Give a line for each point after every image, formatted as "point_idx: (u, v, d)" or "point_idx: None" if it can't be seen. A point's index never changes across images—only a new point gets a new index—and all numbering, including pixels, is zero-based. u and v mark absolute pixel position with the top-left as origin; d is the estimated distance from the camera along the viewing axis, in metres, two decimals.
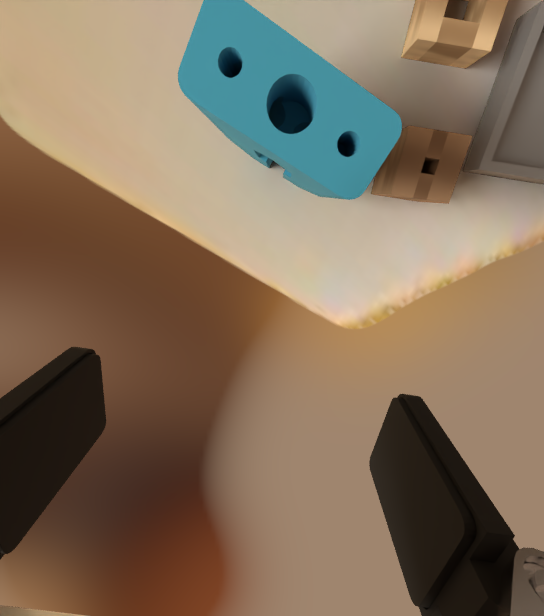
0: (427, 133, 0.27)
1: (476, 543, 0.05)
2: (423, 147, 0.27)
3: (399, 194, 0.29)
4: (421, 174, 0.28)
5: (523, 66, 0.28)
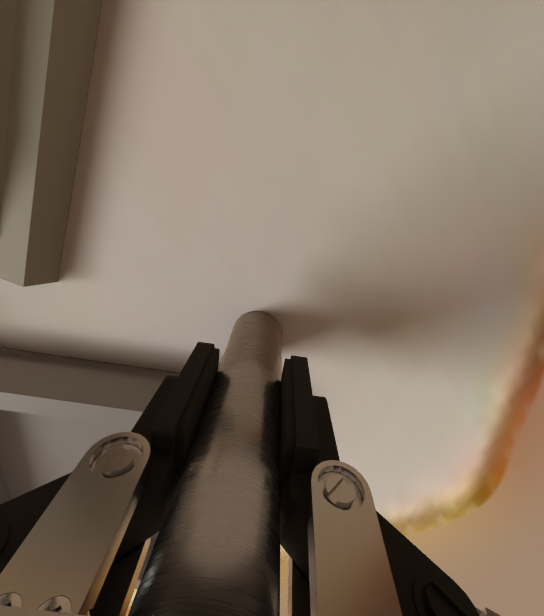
0: None
1: (295, 458, 0.06)
2: None
3: None
4: None
5: None
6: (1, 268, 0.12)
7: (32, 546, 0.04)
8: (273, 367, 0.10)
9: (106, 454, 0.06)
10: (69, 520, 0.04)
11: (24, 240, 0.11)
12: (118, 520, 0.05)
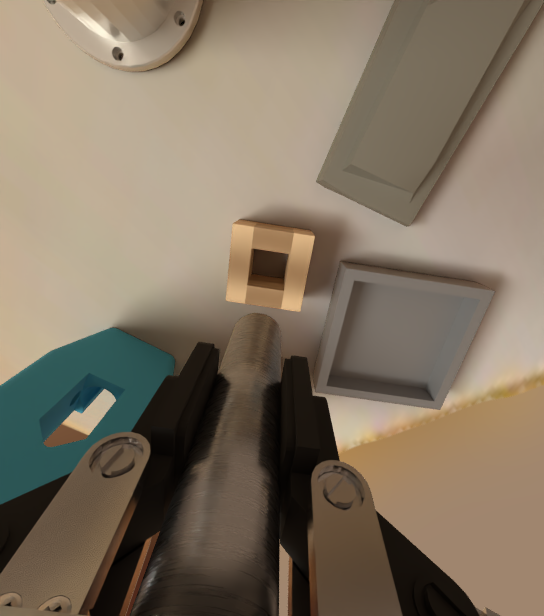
0: None
1: (295, 458, 0.06)
2: None
3: None
4: None
5: (340, 316, 0.28)
6: (404, 216, 0.26)
7: (32, 546, 0.04)
8: (273, 370, 0.10)
9: (106, 454, 0.06)
10: (68, 519, 0.04)
11: (421, 203, 0.25)
12: (118, 520, 0.05)
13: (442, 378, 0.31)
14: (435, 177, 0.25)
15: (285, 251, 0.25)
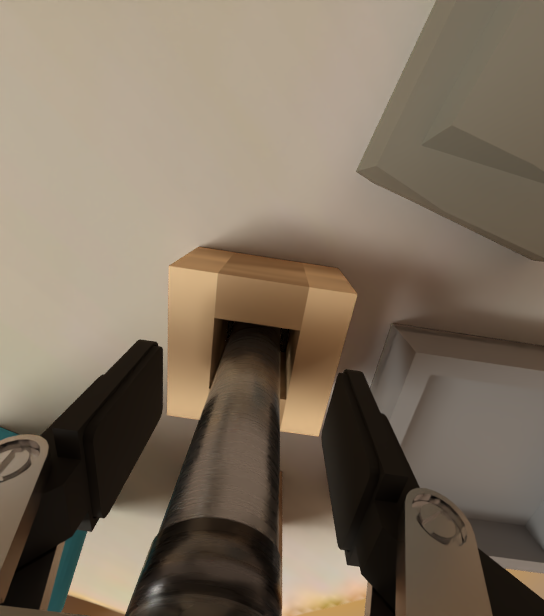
0: None
1: (379, 485, 0.06)
2: None
3: None
4: None
5: None
6: None
7: None
8: (273, 347, 0.11)
9: None
10: None
11: None
12: None
13: None
14: None
15: (290, 324, 0.11)
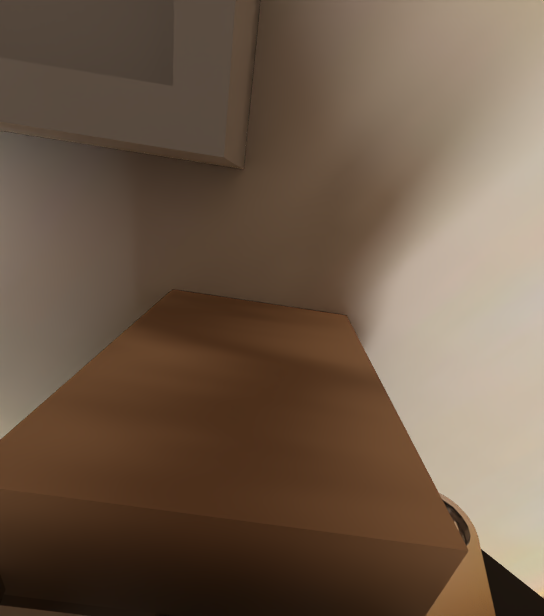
0: None
1: None
2: None
3: None
4: None
5: None
6: None
7: None
8: None
9: None
10: None
11: None
12: None
13: None
14: None
15: None
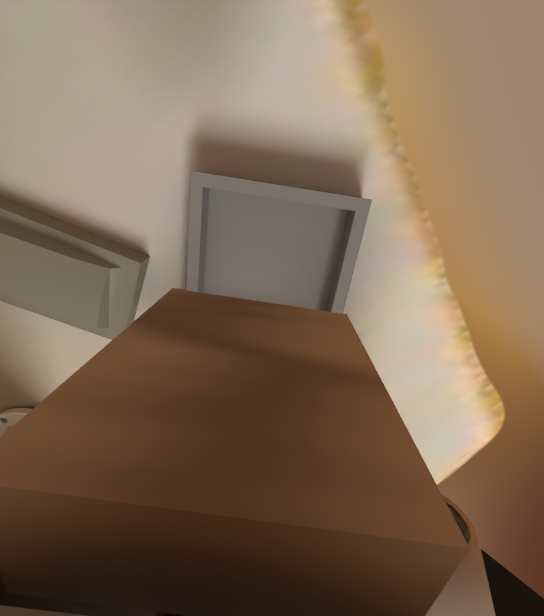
0: None
1: None
2: None
3: None
4: None
5: None
6: (133, 270, 0.26)
7: None
8: None
9: None
10: None
11: (118, 256, 0.26)
12: None
13: (320, 205, 0.23)
14: (94, 247, 0.26)
15: None
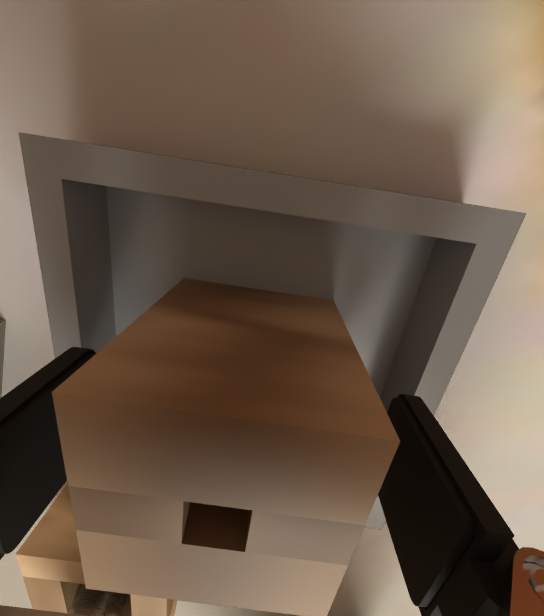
0: (95, 546, 0.06)
1: (476, 543, 0.05)
2: (147, 552, 0.06)
3: (329, 600, 0.07)
4: (251, 549, 0.06)
5: None
6: None
7: None
8: (78, 596, 0.14)
9: None
10: None
11: None
12: None
13: (379, 228, 0.09)
14: None
15: (57, 585, 0.14)
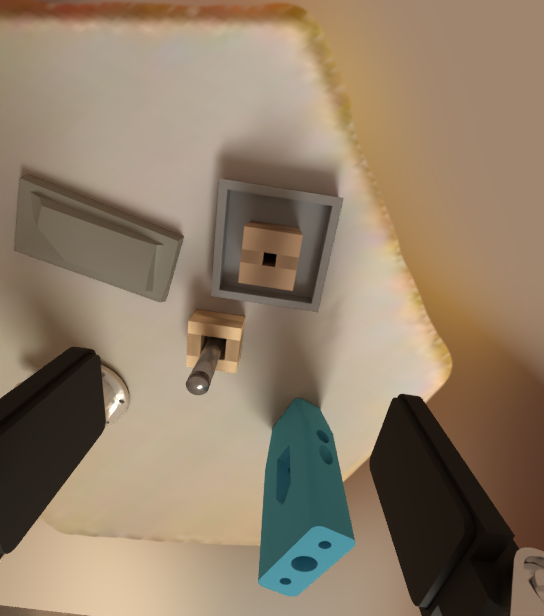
0: (243, 267, 0.31)
1: (476, 543, 0.05)
2: (254, 268, 0.31)
3: (293, 283, 0.31)
4: (276, 266, 0.30)
5: (248, 297, 0.37)
6: (173, 246, 0.36)
7: None
8: (207, 343, 0.38)
9: None
10: None
11: (162, 236, 0.36)
12: None
13: (308, 202, 0.33)
14: (145, 230, 0.36)
15: (199, 337, 0.38)
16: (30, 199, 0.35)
